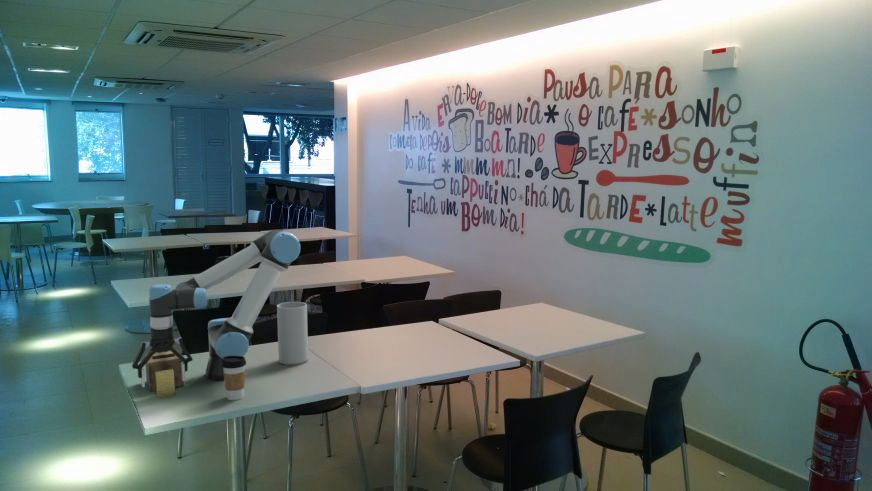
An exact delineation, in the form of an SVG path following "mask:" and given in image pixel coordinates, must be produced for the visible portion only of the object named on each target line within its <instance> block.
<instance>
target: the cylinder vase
mask: <svg viewBox="0 0 872 491" xmlns="http://www.w3.org/2000/svg"><path fill="white" fill-rule="evenodd" d="M276 314H277V317H276V320H277V342H278V346H277V348H278V362H279V363H280V364H282V365H285V366H286V365H287V366H295V365H300V364H304V363H306V362H307V361H308V359H309V344H308V343H309V342H308V340H309V337H308V336H309V335H308V334H309V333H308V304H307V303H306V302H303V301H302V302H301V301H287V302H280V303H279V304H277V305H276Z"/></svg>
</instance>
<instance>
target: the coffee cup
mask: <svg viewBox="0 0 872 491" xmlns="http://www.w3.org/2000/svg"><path fill="white" fill-rule="evenodd" d="M246 365H247V361H246V357H245V356H226V357H224V358H223V359H222V367H223V370H224V371H223V374H224V380H223V381H224V387H225V392H226V399H227V400H228V401H239V400H242V399H243V398H244V397H245V384H246V383H245V381H246Z"/></svg>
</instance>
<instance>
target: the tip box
mask: <svg viewBox="0 0 872 491" xmlns="http://www.w3.org/2000/svg"><path fill="white" fill-rule="evenodd" d="M176 350H177V351H178V352H179V350H178V349H176ZM179 353H180V352H179ZM146 355H147V354H144V357H145V356H146ZM181 362H183V361H182V360H181V359H179V358H178V357H177V356H176V355H175V354H174V353H173V352H172V351H170V350H169V351H167V352H161V353H158V352H156V353H155V354H154V355H153V356H152V357H151V358H150V359H149V361H148V362H147V363H146V364H145V378H146V384H147V387H148V390H149V392H154V391H155V392H156V380H155V372H157V371H163V370H170V369H173V371H174V384H175V388H178V387H184V386H185V381H182V373H181Z"/></svg>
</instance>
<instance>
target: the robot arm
mask: <svg viewBox="0 0 872 491" xmlns="http://www.w3.org/2000/svg"><path fill="white" fill-rule="evenodd" d="M300 253H301V243H300V240H299V238H298V237H296V236H295V235H294V234H293V233H291V232H289V231H285V230H283V229H271V230H269V231H268V232H266V233H264V234H263V235H261V236H259V237H258V238H256V239H255V240H252V241H251V242H250V245H248V246H247V247H245V248H243V249H242V250H240V251H238V252H236V253H234V254H232V255H231V256H229V257H228V258H225V259H224V260H222V261H220V262H218V263H217V264H215V265H213V266H211V267H209V268H208V269H206V270H205V271H202V272H201V273H199V274H196V275H195V276H193V277H192V278H190V279H188V280H185V281H181V282H179V283H177V285H176V286H175V288H174V289H173V287H172V285H171V284H168V283H165V284H164V283H161V284H153V285H152V286H150V287H149V290H148V291H149V295H148V296H149V297H148V298H149V299H148V300H149V304H148V305H149V319H150V320H149V322H150V323H149V324H150V330H149V331H150V341H144V340H143V341H142V340H141V342H140V344H141V345H140V348H139V351H138V352H137V355H136V356H135V358H134V360H133V362H132V364H131V367H132V369H134V370H137V377H138V378H139V379H141V386H142V388H145V387H146V386H145V368H144V367H145V366H146V363H147V362H148V361H149V359H150V358H151V357H152V356H153V355H154V354H155V353H161V352H168V351H172V352H173V353H174V354H175V355H176V356H177V357H178V358H179V359H181V360H182V361H183V362H181V373H182V381H184V382H186V374H185V372H188V371H189V370H188V368H189V367H188V365H189V364H188V363H190V362H192V361H193V357H192V355H191V354H190V353H189V351H188V349H187V348H186V346H185V344H184V340H183V338H182V337H181V336H179V337H177V338H174V327H173V326H174V325H173V324H174V320H173V319H174V318H173V316H174V315H173V311H178V310H179V311H180V310H190V309H191V310H192V309H196V310H198V309H202V308H206V307H207V305H208V294H207V292H209V291H211V290H212V289H214V288H216V287H218V286H219V285H221V284H223V283H225V282H226V281H228V280H230V279H231V278H234V277H235V276H236V275H239V274H240V273H242V272H244V271H246V270H248V269H250V268H251V267H253V266H255V265H256V264H258V263H260V264H259V265H258V268H257V269H256V271H255V273H254V274H253V277H252V278H251V281H250V283H249V284H248V286H247V288H246V289H245V291H244V294H243V295H242V297H241V298H240V301H239V303H238V305H237V306H236V308H235V310H234V312H233V313H232V316H231V317H223V318H216V319H211V320H209V321H208V323H207V330H208V332H207V334H208V351H209V352H208V354H209V355H208V356H209V357H208V361H207V366H206V368H205V377H206V379H208V380H212V381H224V374H223V371H224V370H223V367H222V359H223V358H224V357H226V356H243V357H245V356H246V354H247V352H248V349H249V346H250V342H249V341H250V339H251V337H252V336H253V334H254V330H253V325H254V323H255V322H256V320H257V319H258V316H259V314H260V312H261V310H262V309H263V308H264V305H265V303H266V301H267V300H268V298H269V296H270V295H271V293H272V291H273V289H274V287H275V285H276V282H277V281H278V279H279V277H280V275H281V274H282V273H283V272H284V271H287V270H288V269H289V267H290V265H291V263H293V261H295V260H296V259H298V257H299V255H300ZM175 343H177V345H179V346H180V348H181V349H182V350H183V352H184V354H185V356H186V358H185V356H183V355H182V354H181V353H180V352H178V351H179V350H178V349H176V348H175V347H174V345H175ZM148 346H149V347H151V349H150V350H149V351H148V352H147V354H145V350H146V349H147V348H149V347H148ZM177 350H178V351H177ZM143 354H145V355H146V356H145V355H144V357H143ZM142 357H143V359H142V360H141V358H142Z"/></svg>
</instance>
